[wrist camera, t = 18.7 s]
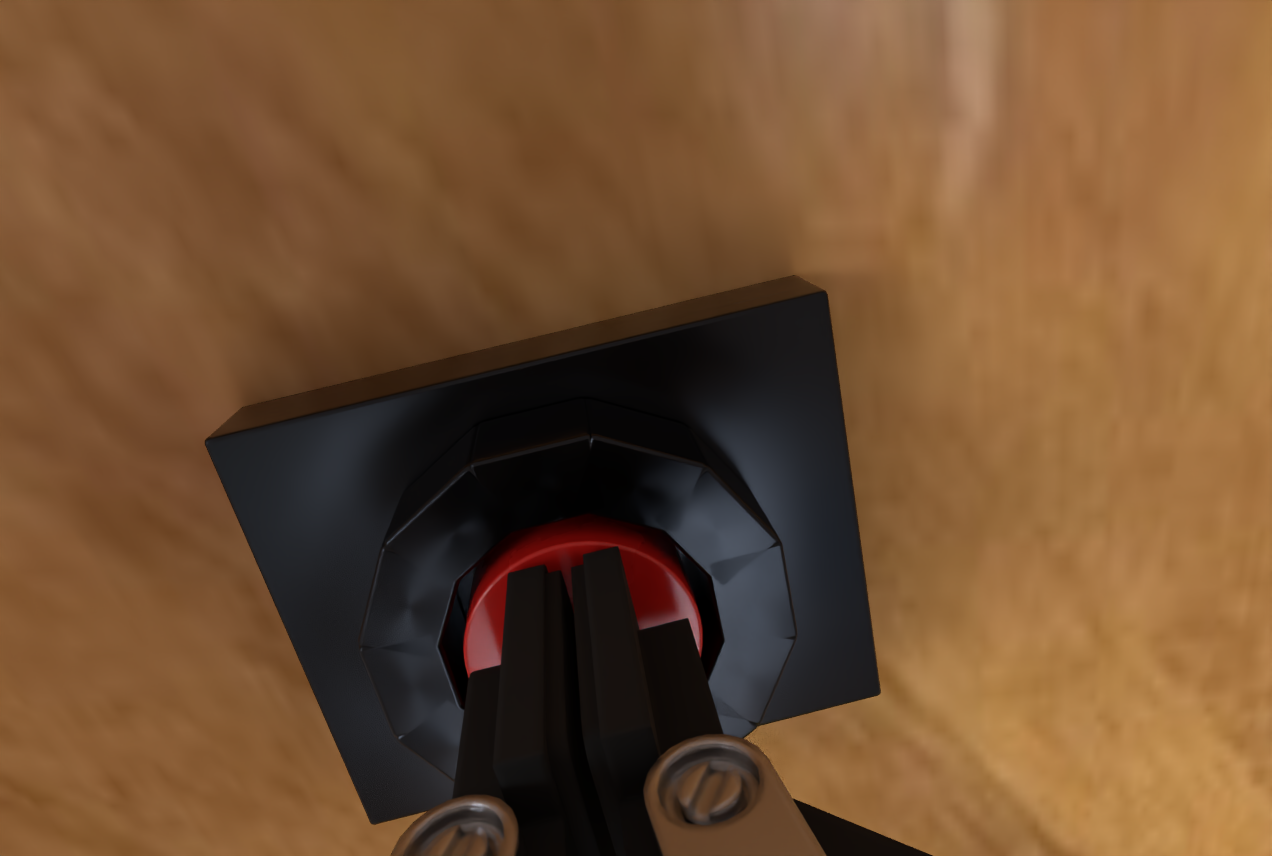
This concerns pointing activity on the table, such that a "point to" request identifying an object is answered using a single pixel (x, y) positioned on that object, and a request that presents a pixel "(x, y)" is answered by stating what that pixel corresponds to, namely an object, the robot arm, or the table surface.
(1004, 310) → the table surface
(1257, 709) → the table surface
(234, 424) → the button box
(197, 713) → the table surface
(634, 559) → the button
